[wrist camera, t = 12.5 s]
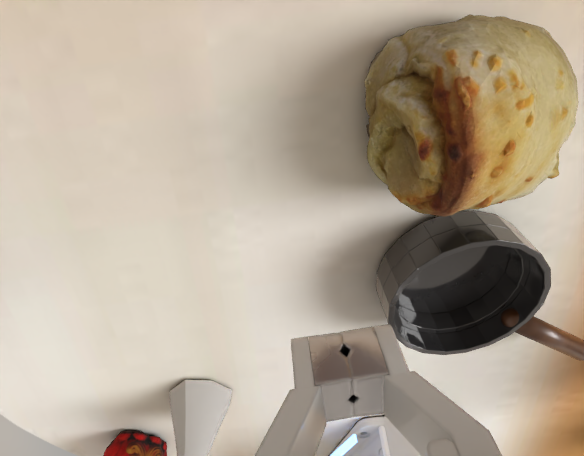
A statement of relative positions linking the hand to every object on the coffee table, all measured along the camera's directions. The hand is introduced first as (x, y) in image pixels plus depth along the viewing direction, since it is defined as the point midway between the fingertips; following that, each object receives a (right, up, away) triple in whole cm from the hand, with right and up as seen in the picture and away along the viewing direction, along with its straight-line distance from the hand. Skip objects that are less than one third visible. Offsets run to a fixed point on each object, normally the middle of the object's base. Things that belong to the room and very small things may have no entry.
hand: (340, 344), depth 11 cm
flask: (-12, -16, +32) cm, 37 cm away
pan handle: (+23, -6, +24) cm, 34 cm away
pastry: (+9, +11, +14) cm, 21 cm away
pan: (+13, 0, +23) cm, 26 cm away
